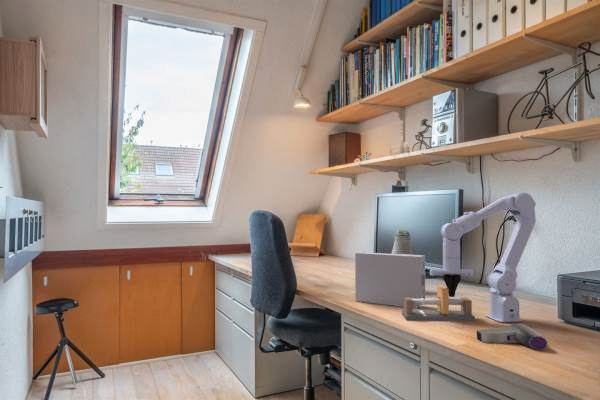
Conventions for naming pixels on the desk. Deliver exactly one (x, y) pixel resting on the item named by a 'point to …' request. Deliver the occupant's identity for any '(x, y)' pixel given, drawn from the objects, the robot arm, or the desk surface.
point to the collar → (443, 299)
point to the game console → (389, 278)
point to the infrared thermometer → (513, 336)
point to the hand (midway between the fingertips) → (451, 296)
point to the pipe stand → (437, 315)
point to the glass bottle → (402, 243)
